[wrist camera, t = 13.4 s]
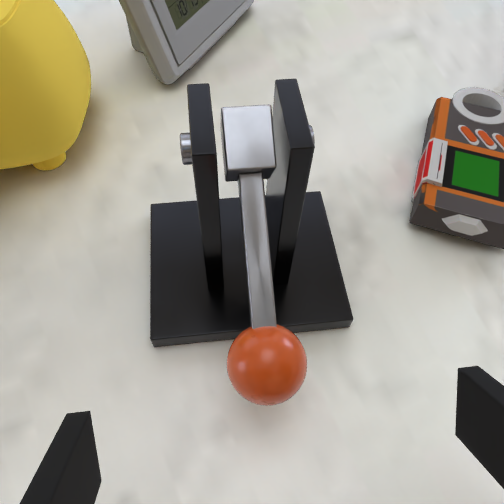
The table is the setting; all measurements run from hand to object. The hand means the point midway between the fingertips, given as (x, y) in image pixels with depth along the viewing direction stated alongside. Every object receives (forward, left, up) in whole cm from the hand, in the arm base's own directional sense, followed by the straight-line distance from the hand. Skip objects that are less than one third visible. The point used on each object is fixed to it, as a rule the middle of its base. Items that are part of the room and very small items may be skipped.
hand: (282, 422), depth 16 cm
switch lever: (0, +8, -2) cm, 9 cm away
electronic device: (+18, +19, -9) cm, 28 cm away
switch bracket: (0, +12, -9) cm, 15 cm away
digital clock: (-2, +38, -9) cm, 39 cm away
